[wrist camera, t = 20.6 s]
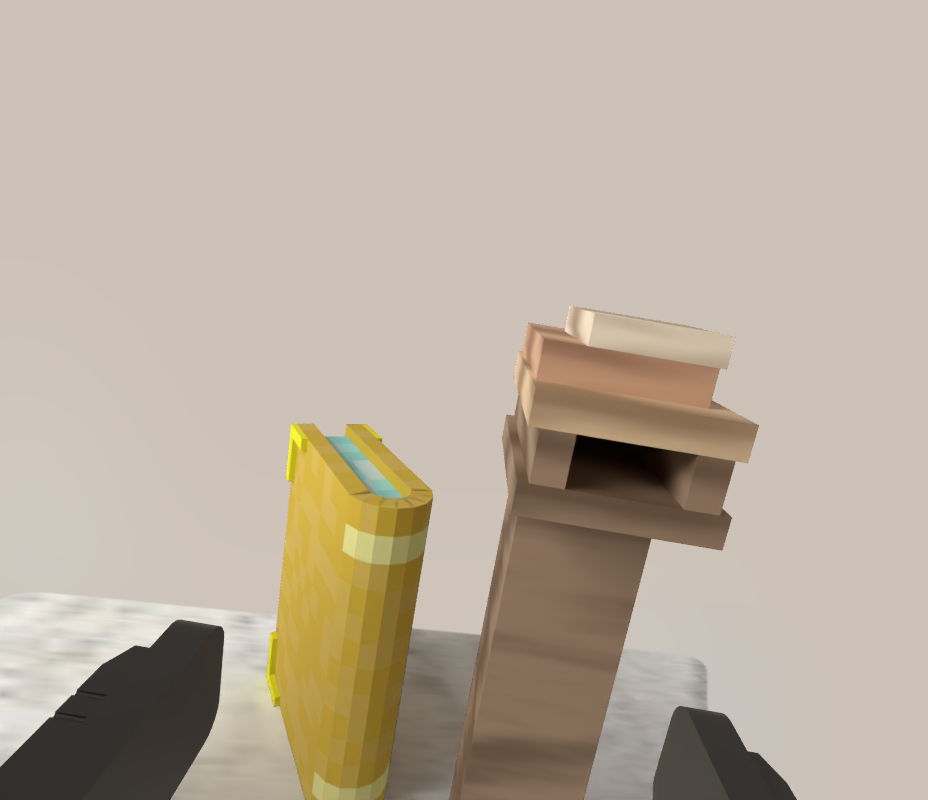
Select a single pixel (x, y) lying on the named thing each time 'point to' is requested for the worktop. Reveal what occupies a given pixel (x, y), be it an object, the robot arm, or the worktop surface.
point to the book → (346, 607)
